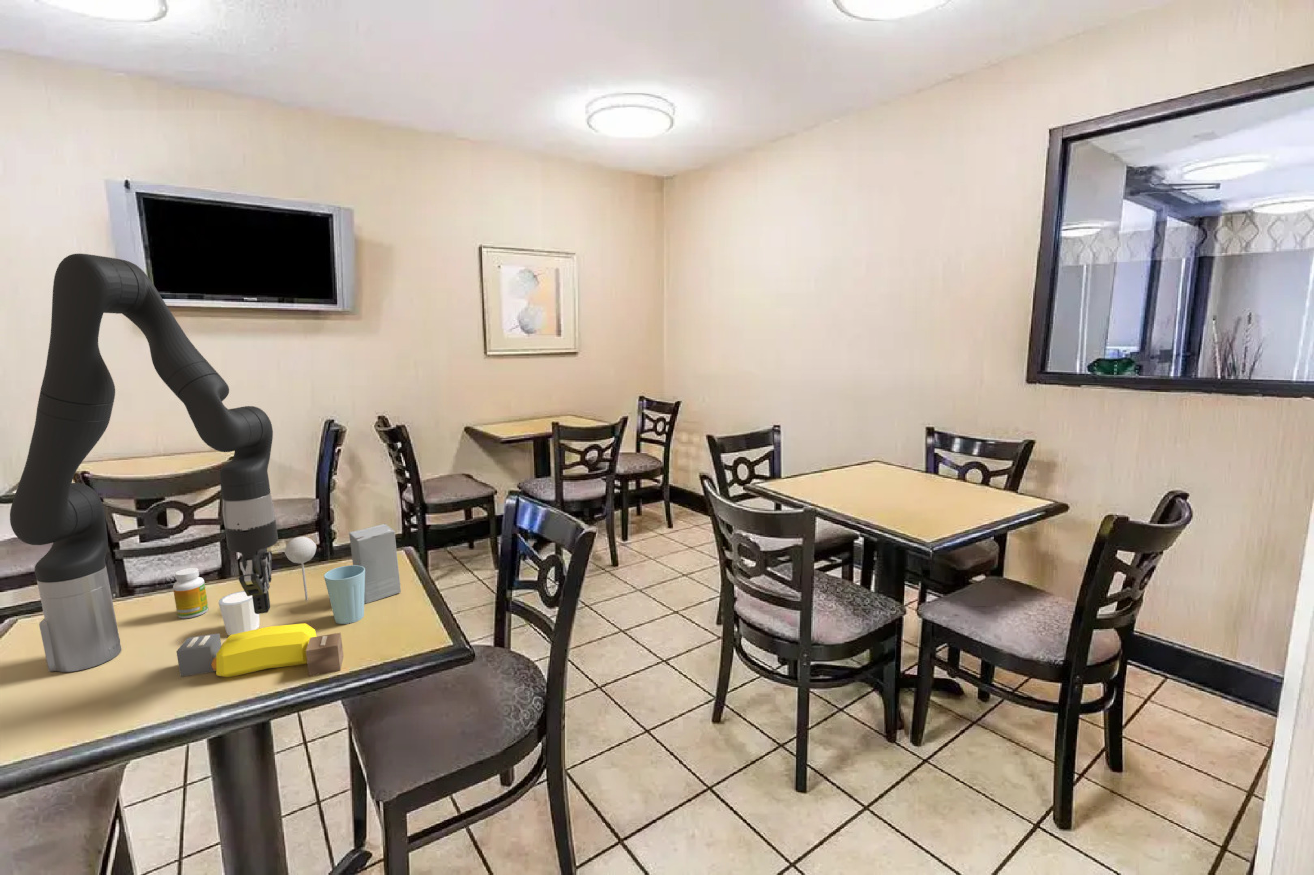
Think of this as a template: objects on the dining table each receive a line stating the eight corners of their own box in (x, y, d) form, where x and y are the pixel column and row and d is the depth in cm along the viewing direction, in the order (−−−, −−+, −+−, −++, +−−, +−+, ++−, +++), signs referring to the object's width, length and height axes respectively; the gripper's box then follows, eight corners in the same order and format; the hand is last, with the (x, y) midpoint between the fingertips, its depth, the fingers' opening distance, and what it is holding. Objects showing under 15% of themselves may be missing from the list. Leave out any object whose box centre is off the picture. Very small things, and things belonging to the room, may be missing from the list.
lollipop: (314, 592, 142) (307, 531, 139) (327, 598, 139) (320, 536, 136) (286, 602, 137) (278, 538, 134) (298, 609, 134) (290, 544, 131)
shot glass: (215, 632, 124) (211, 600, 123) (251, 618, 130) (246, 587, 129) (234, 640, 121) (230, 607, 119) (270, 625, 127) (266, 593, 125)
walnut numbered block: (309, 676, 108) (305, 649, 107) (313, 662, 113) (310, 636, 112) (340, 670, 110) (337, 644, 109) (343, 657, 115) (340, 631, 114)
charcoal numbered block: (180, 677, 108) (176, 650, 107) (191, 662, 113) (187, 636, 112) (213, 672, 110) (209, 645, 109) (223, 657, 114) (219, 632, 114)
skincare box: (391, 585, 146) (385, 521, 143) (402, 594, 141) (397, 529, 138) (354, 595, 140) (347, 530, 137) (364, 606, 135) (357, 538, 132)
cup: (377, 610, 133) (372, 565, 131) (355, 628, 125) (350, 580, 123) (345, 608, 134) (339, 564, 132) (321, 626, 126) (315, 578, 124)
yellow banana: (219, 663, 113) (205, 686, 106) (214, 630, 112) (200, 650, 104) (328, 645, 119) (322, 665, 112) (324, 613, 118) (318, 631, 111)
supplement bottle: (208, 614, 131) (201, 572, 130) (176, 621, 128) (169, 578, 127) (209, 605, 136) (202, 564, 134) (178, 611, 133) (171, 569, 131)
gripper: (235, 512, 112) (248, 600, 115) (213, 535, 100) (227, 632, 103) (282, 507, 115) (293, 593, 118) (266, 529, 103) (278, 624, 106)
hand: (262, 611), depth 111 cm, fingers closed
